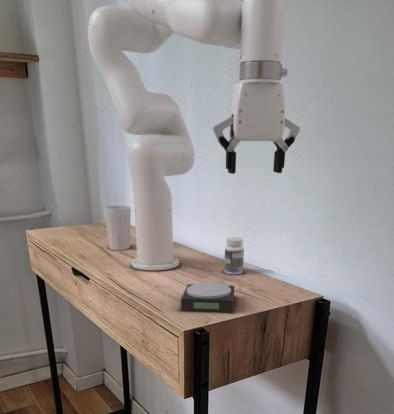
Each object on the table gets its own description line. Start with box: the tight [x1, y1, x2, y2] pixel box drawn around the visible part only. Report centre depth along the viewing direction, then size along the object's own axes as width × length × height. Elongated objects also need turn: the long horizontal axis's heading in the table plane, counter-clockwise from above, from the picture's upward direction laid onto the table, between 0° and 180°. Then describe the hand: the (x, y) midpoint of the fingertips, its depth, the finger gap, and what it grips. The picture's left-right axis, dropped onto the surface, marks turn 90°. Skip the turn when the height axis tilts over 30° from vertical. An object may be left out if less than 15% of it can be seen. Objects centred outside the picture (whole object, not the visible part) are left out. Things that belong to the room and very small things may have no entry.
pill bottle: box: [223, 236, 245, 275], centre depth 120 cm, size 5×5×8 cm
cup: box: [103, 204, 132, 251], centre depth 146 cm, size 8×8×12 cm
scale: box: [180, 282, 235, 313], centre depth 99 cm, size 10×10×3 cm
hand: (254, 172), depth 97 cm, fingers open, 9 cm apart
